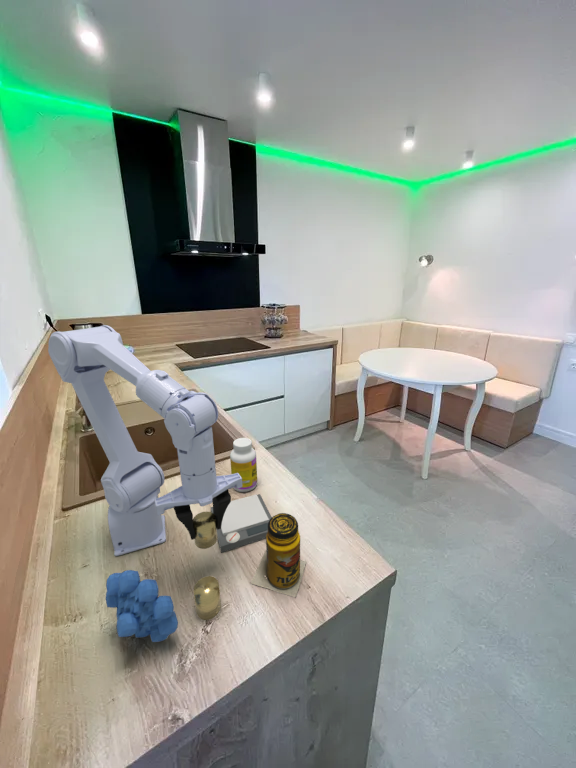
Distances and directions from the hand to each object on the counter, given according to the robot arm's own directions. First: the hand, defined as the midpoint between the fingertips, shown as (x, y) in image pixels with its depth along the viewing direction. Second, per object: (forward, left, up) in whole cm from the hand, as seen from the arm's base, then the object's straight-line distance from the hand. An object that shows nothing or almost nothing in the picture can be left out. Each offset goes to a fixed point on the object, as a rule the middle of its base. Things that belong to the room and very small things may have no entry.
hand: (205, 530), depth 56 cm
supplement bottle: (+13, +21, -9) cm, 26 cm away
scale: (+9, +8, -8) cm, 14 cm away
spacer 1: (0, 0, -2) cm, 2 cm away
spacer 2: (-1, -8, -8) cm, 12 cm away
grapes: (-11, -9, -9) cm, 17 cm away
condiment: (+12, -7, -9) cm, 16 cm away
